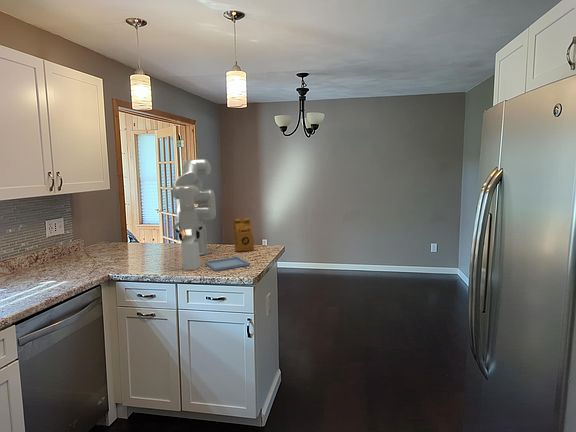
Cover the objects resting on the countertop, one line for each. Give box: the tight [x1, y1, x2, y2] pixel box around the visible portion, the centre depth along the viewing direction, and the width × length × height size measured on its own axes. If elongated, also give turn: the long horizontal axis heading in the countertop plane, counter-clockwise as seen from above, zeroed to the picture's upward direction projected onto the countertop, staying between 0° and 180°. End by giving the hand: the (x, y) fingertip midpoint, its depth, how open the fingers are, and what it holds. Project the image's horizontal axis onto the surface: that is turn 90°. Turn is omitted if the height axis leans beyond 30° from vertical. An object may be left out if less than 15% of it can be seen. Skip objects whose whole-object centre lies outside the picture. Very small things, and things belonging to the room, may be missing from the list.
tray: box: [204, 256, 251, 272], centre depth 223 cm, size 20×20×2 cm
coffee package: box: [233, 217, 255, 253], centre depth 261 cm, size 10×12×22 cm
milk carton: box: [180, 234, 201, 271], centre depth 218 cm, size 7×7×19 cm
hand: (189, 239), depth 217 cm, fingers open, 8 cm apart
